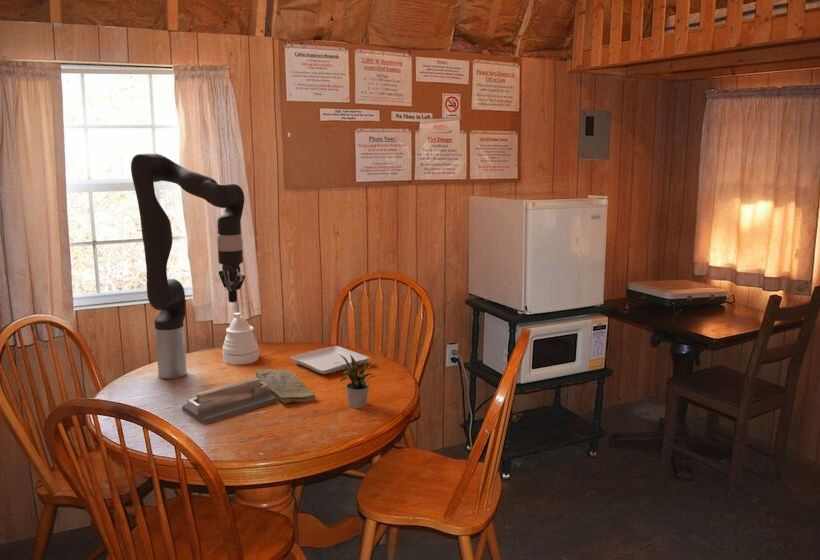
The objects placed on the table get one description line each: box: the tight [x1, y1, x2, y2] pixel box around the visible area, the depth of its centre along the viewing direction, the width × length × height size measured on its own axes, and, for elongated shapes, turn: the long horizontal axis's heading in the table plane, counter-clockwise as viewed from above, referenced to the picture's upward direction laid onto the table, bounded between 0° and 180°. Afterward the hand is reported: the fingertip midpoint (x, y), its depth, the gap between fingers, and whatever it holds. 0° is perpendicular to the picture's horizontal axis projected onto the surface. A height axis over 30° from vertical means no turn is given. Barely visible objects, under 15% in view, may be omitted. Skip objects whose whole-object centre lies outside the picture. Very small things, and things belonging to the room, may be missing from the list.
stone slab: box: [255, 368, 316, 405], centre depth 217 cm, size 12×4×30 cm
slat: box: [196, 376, 260, 408], centre depth 202 cm, size 2×20×5 cm, turn 135°
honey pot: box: [221, 312, 260, 366], centre depth 245 cm, size 13×13×18 cm
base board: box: [181, 393, 277, 425], centre depth 202 cm, size 14×24×2 cm, turn 134°
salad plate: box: [290, 345, 370, 375], centre depth 241 cm, size 21×21×3 cm
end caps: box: [187, 381, 270, 415], centre depth 202 cm, size 6×24×3 cm, turn 134°
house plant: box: [333, 354, 379, 409], centre depth 202 cm, size 14×14×16 cm
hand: (232, 301), depth 212 cm, fingers closed
